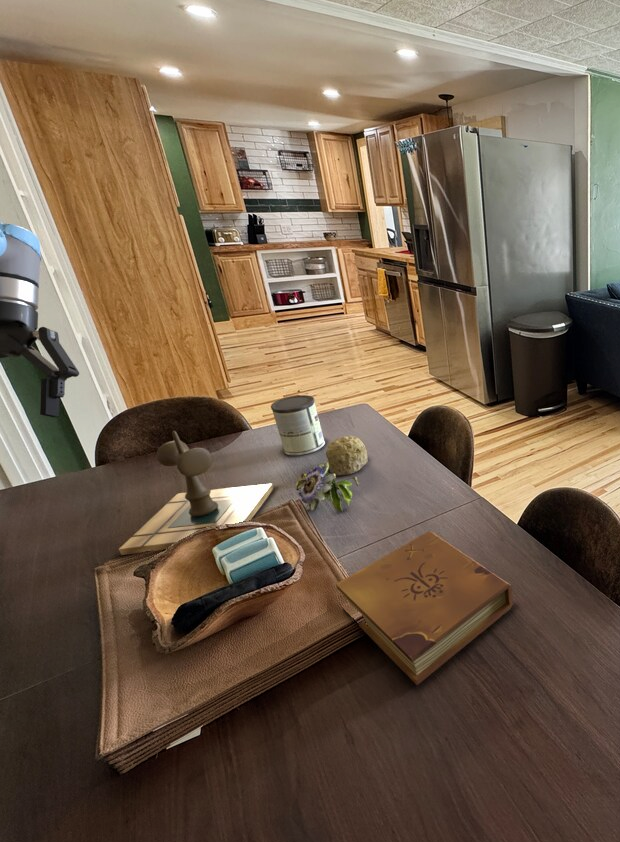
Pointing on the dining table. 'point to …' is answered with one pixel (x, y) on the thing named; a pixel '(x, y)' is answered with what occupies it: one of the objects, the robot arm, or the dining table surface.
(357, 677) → the dining table surface
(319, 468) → the passion flower
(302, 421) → the coffee can
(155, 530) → the board
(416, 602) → the diary
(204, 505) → the kendama
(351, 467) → the rock
